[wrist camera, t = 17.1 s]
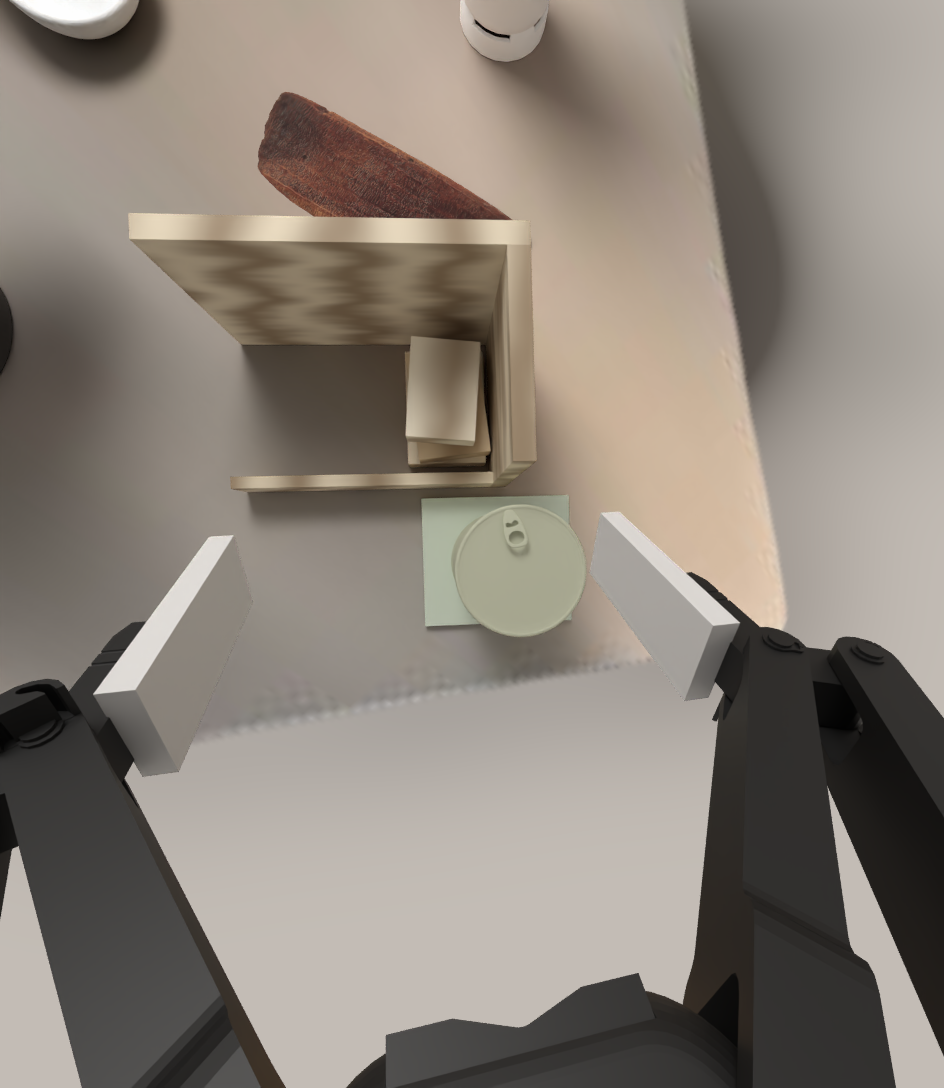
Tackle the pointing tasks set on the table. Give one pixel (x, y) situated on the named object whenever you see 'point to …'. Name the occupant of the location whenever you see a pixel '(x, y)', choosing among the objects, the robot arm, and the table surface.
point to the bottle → (504, 26)
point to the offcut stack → (445, 403)
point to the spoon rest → (80, 15)
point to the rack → (368, 306)
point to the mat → (439, 537)
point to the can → (519, 570)
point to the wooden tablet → (354, 170)
